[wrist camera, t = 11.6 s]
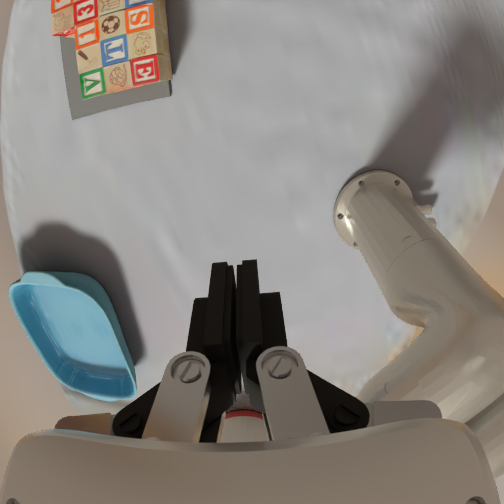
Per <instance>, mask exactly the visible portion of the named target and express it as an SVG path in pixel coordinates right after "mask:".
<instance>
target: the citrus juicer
mask: <svg viewBox="0 0 504 504" xmlns="http://www.w3.org/2000/svg"><path fill="white" fill-rule="evenodd" d="M258 441H269V440H268V436H267V432H266V428H265V424H264V419H263V415H262V414H260V413H258V412H255V411H233V412H229V413H227V414H226V417H225V422H224V427H223V432H222V437H221V442H220V443H235V442H258Z"/></svg>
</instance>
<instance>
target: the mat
mask: <svg viewBox="0 0 504 504" xmlns="http://www.w3.org/2000/svg"><path fill="white" fill-rule="evenodd" d="M60 42H61V52H62V60H63V68H64V75H65V82H66V88H67V94H68V100H69V105H70V111H71V116H72V120H75V119H78V118H81V117H84V116H88V115H91V114H95V113H98V112H102V111H106V110H110V109H113V108H117V107H121V106H126V105H130V104H134V103H139V102H143V101H148V100H153V99H158V98H163V97H169V96H171V92H170V84H169V80H167V81H162V82H157V83H152V84H148V85H144V86H140V87H136V88H131V89H127V90H123V91H117V92H113V93H109V94H105V95H101V96H97V97H93V98H89V99H85V100H83V99H82V92H81V85H80V78H79V77H80V75H79V73H78V65H77V57H76V48H75V38H71V37H65V36H60Z"/></svg>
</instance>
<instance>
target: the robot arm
mask: <svg viewBox="0 0 504 504" xmlns="http://www.w3.org/2000/svg"><path fill="white" fill-rule="evenodd" d="M359 181H361V182H359ZM431 213H432V207H431V205H418V204H417V203H416V202H415V201H414V200H413V195H412V193H411V190H410V188H409V187H408V185H407V184H406V183H405V182H404V181H403V180H402V179H401V178H400V177H398V176H397V175H395V174H393V173H391V172H388V171H383V170H374V171H369V172H365V173H363V174H361V175H358V176H357V177H355V178H354V179H352V180H351V181H350V182H349V183H348V184H347V185H346V186H345V187H344V188H343V190H342V191H341V192H340V194H339V196H338V198H337V200H336V203H335V206H334V214H333V217H334V224H335V227H336V230H337V232H338V234H339V236H340V237H341V238H342V240H343V241H344V242H345V243H346V244H348V245H349V246H351V247H353V248H355V249H358V250H360V251H361V253H362V255H363V257H364V259H365V261H366V262H367V264H368V266H369V268H370V270H371V272H372V274H373V276H374V278H375V280H376V281H377V283H378V285H379V287H380V289H381V291H382V293H383V295H384V297H385V299H386V301H387V303H388V305H389V307H390V309H391V310H392V312H393V313H394V314H395V315H396V316H397V317H398V318H400V319H401V320H402V321H404V322H406V323H408V324H411V325H414V326H418V327H423V328H424V330H423V331H422V333H421V334H420V335H419V336H418V337H417V338H416V339H415V340H414V341H413V342H412V343H411V344H410V345H409V346H408V347H407V348H406V349H405V350H404V351H403V352H402V353H400V354H399V355H398V356H397V357H396V358H395V359H394V360H392V361H391V362H390V363H389V364H388V365H386V366H385V367H384V368H383V369H382V370H381V371H379V372H378V373H377V374H376V375H375V376H373V377H372V378H371V379H370V380H369V381H368V382H367V383H366V384H365V385H364V387H363V388H362V390H361V391H360V393H359V395H358V398H355V397H354V396H352V395H350V394H348V393H346V392H345V391H343V390H341V389H339V388H338V387H336V386H334V385H332V384H331V383H329V382H327V381H325V380H324V379H322V378H320V377H319V376H317V375H315V374H314V373H312V372H310V371H309V370H307V369H306V367H305V364H304V361H303V359H302V357H301V355H300V354H299V353H298V352H297V351H296V350H294V349H292V348H289V347H287V339H286V332H285V325H284V318H283V311H282V304H281V297H280V292H273V293H261V294H260V291H259V280H258V269H257V259H256V260H244V261H242V265H237V289H236V282H235V275H234V269H233V265H229V266H228V264H227V262H219V263H212V270H211V278H210V286H209V294H208V297H206V298H195V300H194V304H193V310H192V316H191V322H190V328H189V335H188V341H187V348H186V352H183V353H180V354H178V355H176V356H174V357H173V358H172V359H171V360H170V361H169V363H168V365H167V367H166V369H165V372H164V375H163V378H162V381H161V382H160V383H158V384H157V385H156V386H154V387H153V388H151V389H150V390H149V391H147V392H146V393H144V394H143V395H142V396H140V397H139V398H137V399H136V400H135V401H133V402H132V403H130V404H129V405H127V406H126V407H125V408H123V409H122V410H120V411H119V412H118V413H117V414H115V415H112V414H111V413H102V414H92V415H80V416H67V417H64V418H62V419H60V420H59V421H58V422H57V424H56V425H55V429H49V430H41V431H37V432H34V433H31V434H28V435H26V436H24V437H23V438H22V439H21V440H20V441H19V442H18V443H17V444H16V446H15V448H14V450H13V452H12V454H11V457H10V459H9V462H8V465H7V468H6V471H5V475H4V479H3V483H2V487H1V491H0V504H500V500H499V495H498V491H497V487H496V484H495V480H494V479H496V478H497V477H499V476H501V475H502V474H504V298H503V297H502V296H501V295H500V294H499V293H497V291H496V290H494V289H493V288H492V287H491V286H490V285H489V284H488V283H487V282H486V281H484V279H483V278H482V277H481V276H480V275H479V274H478V273H477V272H476V271H475V270H474V269H473V268H472V267H471V266H470V265H469V264H468V263H467V261H466V260H465V259H464V258H463V257H462V256H461V255H460V254H459V253H458V251H457V250H456V249H455V248H454V247H453V246H452V245H451V244H450V242H449V241H448V240H447V239H446V238H445V237H444V236H443V235H442V234H441V233H440V232H439V230H438V229H437V228H436V221H435V219H434V218H426V217H425V216H424V215H423V214H431ZM338 214H339V215H338ZM241 372H242V377H243V382H244V387H245V392H246V394H247V393H249V395H250V400H251V404H252V405H253V406H255V407H256V408H257V409H259V410H260V411H261V412H262V415H263V419H264V424H265V428H266V432H267V436H268V440H269V441H258V442H235V443H220V442H221V437H222V432H223V427H224V422H225V417H226V410H228V409H229V408H230V407H231V406H232V405H233V402H236V394H241Z"/></svg>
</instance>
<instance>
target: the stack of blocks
mask: <svg viewBox="0 0 504 504" xmlns="http://www.w3.org/2000/svg"><path fill="white" fill-rule="evenodd" d="M51 13H52V14H51V21H52V35H53V36H65V37H71V38H75V48H76V57H77V65H78V73H79V75H80V77H79V78H80V85H81V92H82V99H83V100H85V99H89V98H93V97H97V96H101V95H105V94H109V93H113V92H117V91H123V90H127V89H131V88H136V87H140V86H144V85H148V84H152V83H157V82H162V81H167V80H172V79H173V77H172V68H171V58H170V50H169V39H168V28H167V16H166V3H165V0H51Z"/></svg>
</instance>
